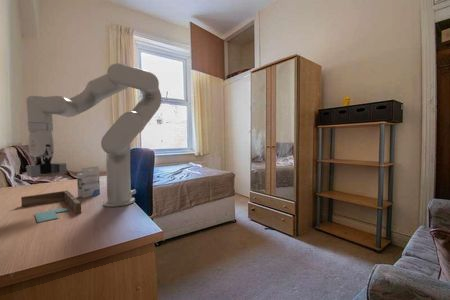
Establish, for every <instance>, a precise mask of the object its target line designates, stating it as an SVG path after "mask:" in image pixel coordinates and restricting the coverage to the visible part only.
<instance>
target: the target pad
mask: <svg viewBox="0 0 450 300" xmlns="http://www.w3.org/2000/svg"><path fill="white" fill-rule="evenodd" d="M68 211H69V210H68V208H67V207H63V208H57V209H53V210H47V211H42V212H41V211H40V212H36V213H34V215H35V220H36V222H37V224H39V223H44V222H49V221H53V220H57V219H59V216H58V215H57V214H60V213H65V212H68Z"/></svg>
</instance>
